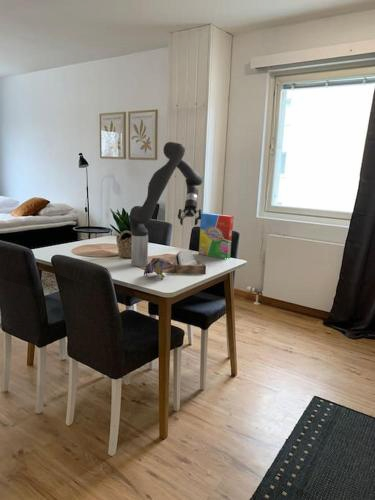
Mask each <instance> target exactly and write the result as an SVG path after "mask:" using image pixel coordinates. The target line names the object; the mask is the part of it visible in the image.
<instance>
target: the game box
mask: <svg viewBox="0 0 375 500" xmlns="http://www.w3.org/2000/svg"><path fill="white" fill-rule="evenodd" d="M199 225H200V228H199V245H198V255H203V256H208V257H212V258H213V257H214V258H218V257H219V258H220V259H224V258H226V259H225V260H228V259H230V258H231V253H232V252H231V251H232V241H233V239H232V238H233V230H234V229H233V225H234V215H227V214H218V213H211V212H210V213H209V212H201V220H200V224H199ZM227 258H228V259H227Z"/></svg>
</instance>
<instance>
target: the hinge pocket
mask: <svg viewBox="0 0 375 500" xmlns="http://www.w3.org/2000/svg"><path fill="white" fill-rule="evenodd" d="M172 263H173V264H172V271H173V274H179V275H181V274H182V275H183V274H185V275H186V274H189V275H193V274H194V275H200V274H201V275H202V274H203V275H204V274H207V265H206V263H205V262H203V261H202V263H201V265H200V264H195V265H176V263H175V261H173V262H172Z"/></svg>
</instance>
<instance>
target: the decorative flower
mask: <svg viewBox="0 0 375 500" xmlns="http://www.w3.org/2000/svg"><path fill="white" fill-rule="evenodd" d="M169 268H173V265H172V264H171V263H170V261H168V260H166V259H165V258H159V257H158V258H157V257H153V258H151V261H150V262H148V265H146V266H145V268H144V270H143V277H145V276H146V277H148V275H150V274H153V273H155V274H156V275H157V276H160V277H161V278H160V279H161V280H164V278H165V275H163V272H164V271H163V270H167V269H168V270H169Z"/></svg>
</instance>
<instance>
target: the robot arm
mask: <svg viewBox="0 0 375 500" xmlns="http://www.w3.org/2000/svg"><path fill="white" fill-rule="evenodd" d="M185 152H186V148H185V145H184V144H182V143H179V142H174V141H168V142H166V143H165V144H164V146H163V154H164V156H165V157H166V158H167V159H168V161H167V162H166V164H164V165H163V166H161V167H160V168H159V169H158V170H156V171H155V172H154V173H153V174H152V176H151V179H150V180H149V182H148V186H147V196H146V199H145V200H144V203H142V206H141V205H140V206H139V205H135V206H133V207H132V208H131V209H130V212H129V227H130V228H129V229H130V232H131V254H130V255H131V257H130V258H131V259H130V260H131V261H130V266H132V267H133V266H134V267H146V266H147V265H148V264H149V261H148V260H149V257H148V256H149V251H148V250H149V230H148V229H147V228H146V225H145V224H147V223H149V221H150V220H151V219H152V217H153V214H154V212H155V209H156V206H157V204H158V202H159V201H160V199H161V196H162V194H163V192H164V190H165V189H166V187H167V185H168V183H169V181H170V179H171V178H172V176H173V174H174V171H175V170H176V169H178V170H179V171H180V173H181V174H182V175H183V177H184V178H185V184H186V196H185V202H184V208H183V209H181V208H179V209H178V212H177V213H178V214H177V219H178V220H179V224H180V225H181V226H184V219H186V218H192V217H193V218H194V226H197V225H198V221H199V220H200V221H201V213H202V209H200V208H199V209H198V194H199V189H198V187H197V186H201V185H202V183H203V177H202V176H201V174H199V172H197V171H196V170H194V169H193V167H192V166H191V164H190V163H189V162H188V161H186V160H185V159H184V155H185ZM197 214H198V215H197Z"/></svg>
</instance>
